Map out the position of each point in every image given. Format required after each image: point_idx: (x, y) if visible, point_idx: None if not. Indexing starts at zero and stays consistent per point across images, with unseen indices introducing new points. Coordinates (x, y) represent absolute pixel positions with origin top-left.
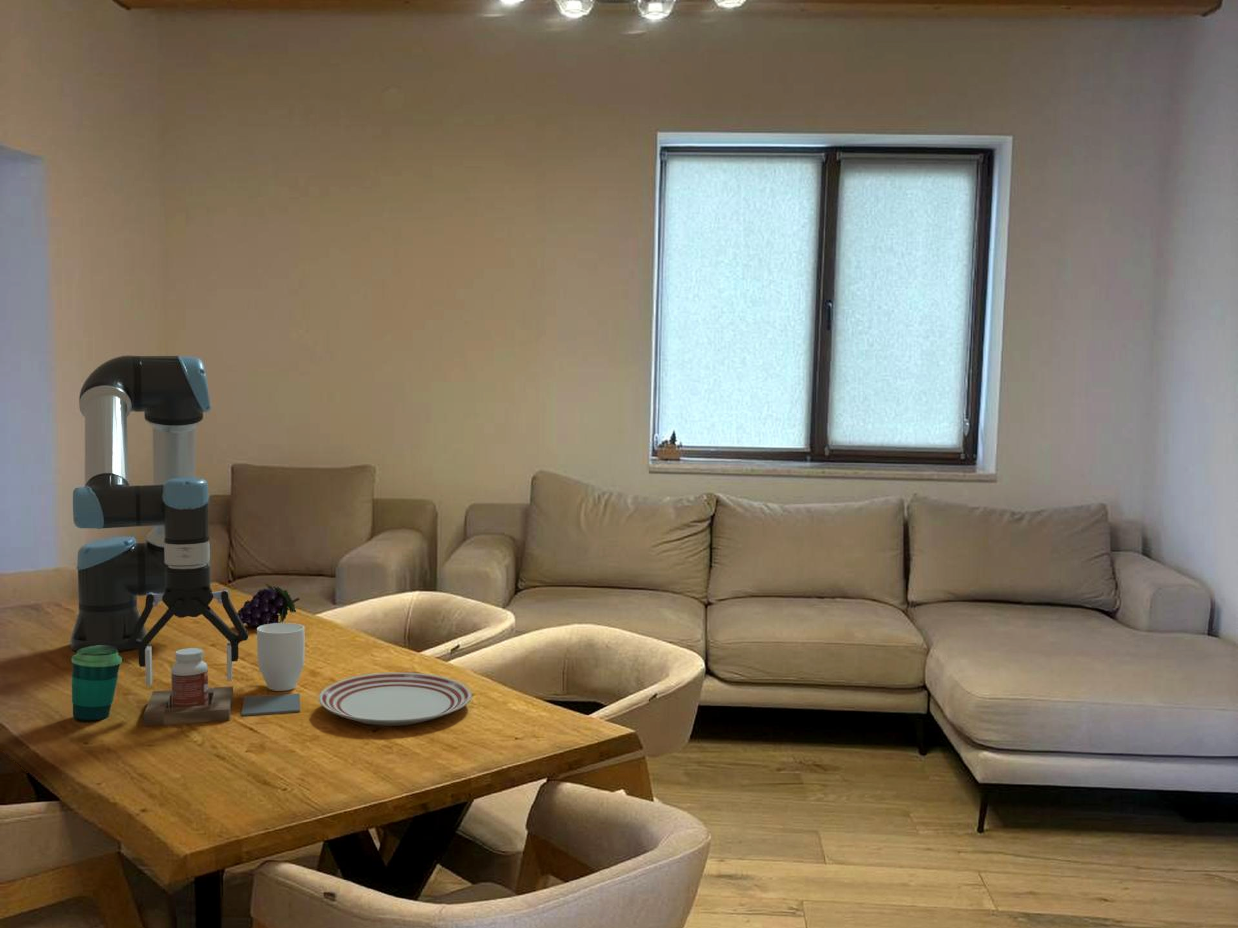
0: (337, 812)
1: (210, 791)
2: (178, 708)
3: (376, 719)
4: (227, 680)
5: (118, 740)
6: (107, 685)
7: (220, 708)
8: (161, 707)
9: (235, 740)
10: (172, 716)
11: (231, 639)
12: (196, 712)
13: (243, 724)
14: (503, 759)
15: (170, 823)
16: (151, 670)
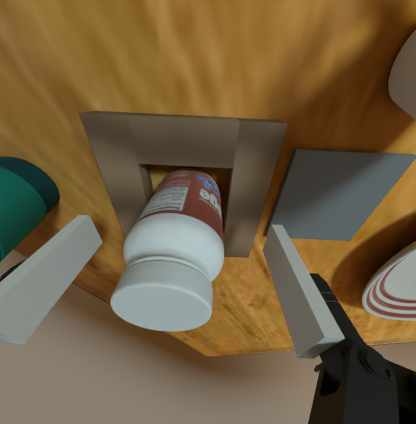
0: (275, 351)
1: (218, 334)
2: None
3: (383, 317)
4: (263, 251)
5: (126, 267)
6: (12, 249)
7: (237, 251)
8: None
9: (243, 288)
10: None
11: (331, 391)
12: None
13: (260, 258)
14: (404, 338)
15: (200, 346)
16: (71, 247)
